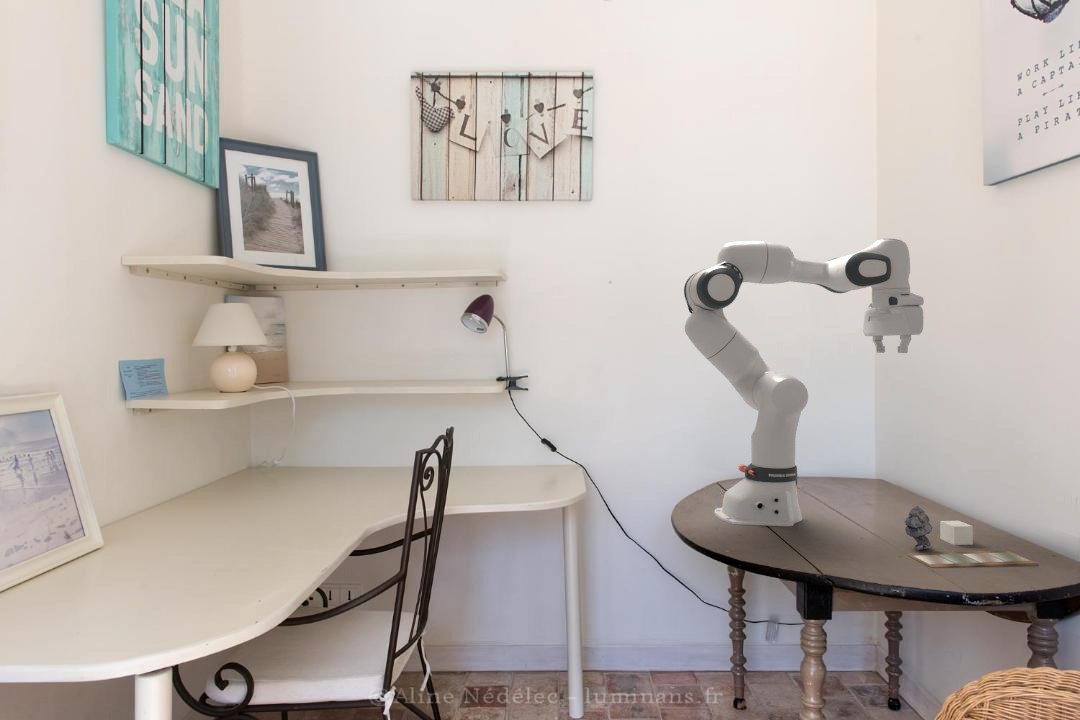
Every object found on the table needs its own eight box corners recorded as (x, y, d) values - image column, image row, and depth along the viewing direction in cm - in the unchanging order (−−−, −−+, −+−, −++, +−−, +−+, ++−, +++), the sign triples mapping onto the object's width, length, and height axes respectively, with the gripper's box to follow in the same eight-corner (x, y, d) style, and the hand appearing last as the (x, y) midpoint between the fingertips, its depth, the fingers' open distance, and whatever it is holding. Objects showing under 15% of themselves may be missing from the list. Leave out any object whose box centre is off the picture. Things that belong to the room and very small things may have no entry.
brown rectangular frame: (931, 569, 126) (931, 566, 126) (906, 556, 134) (906, 553, 134) (1038, 565, 127) (1038, 562, 127) (1006, 552, 135) (1006, 550, 135)
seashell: (932, 555, 134) (932, 510, 134) (904, 551, 137) (903, 507, 137) (932, 548, 139) (931, 504, 139) (904, 544, 142) (904, 501, 141)
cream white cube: (954, 546, 140) (954, 526, 140) (940, 540, 145) (940, 521, 145) (972, 545, 140) (972, 526, 140) (958, 539, 145) (958, 520, 145)
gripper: (856, 303, 172) (857, 352, 173) (904, 298, 152) (904, 353, 152) (878, 303, 173) (878, 352, 173) (928, 297, 152) (928, 353, 153)
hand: (891, 352), depth 162 cm, fingers open, 8 cm apart
